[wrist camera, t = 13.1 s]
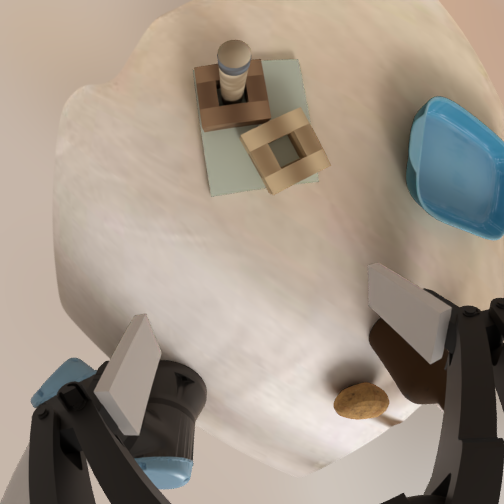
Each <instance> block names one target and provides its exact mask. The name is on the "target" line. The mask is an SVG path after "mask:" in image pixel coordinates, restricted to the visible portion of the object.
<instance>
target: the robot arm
mask: <svg viewBox="0 0 504 504" xmlns="http://www.w3.org/2000/svg"><path fill="white" fill-rule="evenodd" d="M368 296H369V307H370V308H372V309H373V310H374V311H375V312H376V313H377V314H378V315H379V316H380V317H381V318H382V319H383V320H384V321H386V322H387V323H388V324H389V325H390V326H391V327H392V328H393V329H394V330H395V331H396V332H397V333H398V334H399V335H400V336H401V337H403V338H404V339H405V340H406V341H407V342H408V343H409V344H410V345H411V346H412V347H413V348H414V349H415V350H416V351H417V352H418V353H419V354H420V355H421V356H422V357H423V358H424V359H425V360H426V361H427V362H428V363H429V364H432V363H434V362H436V361H437V360H439V359H441V358H442V355H443V351H444V348H446V349H447V350H448V351H449V354H448V358H447V361H446V365H445V369H444V370H446V369H447V383H446V397H445V407H444V415H443V423H442V429H441V436H440V441H439V447H438V452H437V456H436V461H435V465H434V469H433V473H432V477H431V479H430V482H429V484H428V486H427V488H426V490H425V492H424V495H418V496H412V497H407V498H406V496H405V494H404V493H402V494H400V495H398V496H396V497H394V498H392V499H390V500H388V501H386V502H383V503H381V504H498V502H499V497H500V491H501V484H502V476H503V464H504V440H503V439H502V438H498V437H497V412H496V396H495V395H496V394H495V388H496V391H497V393H498V396H499V399H500V402H501V405H502V408H503V411H504V343H503V340H504V298H496V299H493V300H492V301H491V304H490V309H489V310H485V311H480V310H479V309H478V308H477V307H474V306H463V307H458V306H456V305H455V304H453V303H452V302H450V301H449V300H447V299H444V297H442V296H439V294H437V293H436V292H434V291H432V290H429V289H425V288H424V289H422V288H420V287H419V286H417V285H415V284H414V283H412V282H410V281H409V280H407V279H406V278H404V277H402V276H401V275H399V274H397V273H396V272H394V271H392V270H390V269H389V268H387V267H385V266H384V265H382V264H380V263H374V264H370V265H368ZM161 353H162V352H161V350H160V347H159V345H158V342H157V340H156V338H155V335H154V333H153V330H152V327H151V325H150V322H149V320H148V317H147V314H141V315H135V316H134V318H133V319H132V321H131V323H130V324H129V326H128V328H127V330H126V332H125V333H124V335H123V337H122V339H121V340H120V342H119V344H118V346H117V348H116V350H115V351H114V353H113V355H112V357H111V359H110V361H105V362H104V363H103V364H102V365H101V366H100V367H99V368H98V370H94V369H92V368H91V367H90V366H88V365H87V364H86V363H85V362H83V361H82V360H81V359H78V358H70V359H68V360H67V361H66V362H64V363H63V364H62V365H61V366H60V367H59V368H58V369H57V370H56V371H55V372H54V373H53V374H52V375H51V376H50V377H49V378H48V380H46V382H45V383H44V384H43V385H42V386H41V388H40V389H39V390H38V391H37V392H36V393H35V394H34V395H33V397H32V398H31V403H32V405H33V407H34V408H37V409H36V410H35V411H34V413H33V416H32V424H31V432H30V442H29V444H28V446H27V448H26V450H25V452H24V454H23V455H22V458H21V459H20V461H19V463H18V465H17V467H16V470H15V471H14V473H13V476H12V478H11V480H10V482H9V485H8V486H7V489H6V491H5V493H4V496H3V498H2V500H1V503H0V504H96V503H95V499H94V495H93V491H92V486H91V482H90V477H89V472H88V466H90V467H91V469H92V471H93V473H94V475H95V477H96V478H97V480H98V482H99V484H100V486H101V488H102V489H103V491H104V493H105V494H106V496H107V498H108V499H109V501H110V503H111V504H171V503H170V502H169V501H168V500H167V499H166V498H165V496H164V495H163V494H162V493H161V492H160V491H159V490H158V489H174V488H178V487H181V486H184V485H185V484H186V483H188V481H189V480H190V477H191V471H192V466H193V445H194V431H195V421H196V420H197V418H198V416H199V414H200V413H201V411H202V409H203V407H204V405H205V403H206V395H207V389H206V385H205V383H204V381H203V380H202V378H201V377H200V376H199V375H198V374H197V373H196V372H194V371H193V370H192V369H190V368H188V367H186V366H184V365H182V364H179V363H176V362H171V361H162V360H160V356H161ZM159 360H160V361H159Z"/></svg>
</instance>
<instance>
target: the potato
mask: <svg viewBox="0 0 504 504" xmlns="http://www.w3.org/2000/svg"><path fill="white" fill-rule="evenodd" d="M388 405H389V399H388V396H387V394H386V393H385V392H384V391H383V390H382V389H381V388H379V387H378V386H376V385H374V384H371V383H367V382H365V383H361V384H357V385H353V386H351V387H348V388H346V389H344V390H343V391H341V393H340V394H339V395H338V396H337V397H336V399H335V401H334V409H335V411H336V412H337V413H338V414H339V415H340V416H342V417H346V418H350V419H367V418H373V417H377V416H379V415H381V414H382V413H383V412H385V411H386V409H387V407H388Z"/></svg>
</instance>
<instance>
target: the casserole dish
mask: <svg viewBox="0 0 504 504" xmlns="http://www.w3.org/2000/svg"><path fill="white" fill-rule="evenodd" d="M406 182H407V187H408V190H409V192H410V194H411V196H412V197H413V199H414V200H415V201H416V202H417V203H418V204H419V205H420V206H421V207H422V208H423V209H424V210H425V211H426V212H427V213H428V214H430V215H431V216H432V217H434V218H435V219H437V220H439V221H441V222H443V223H446V224H448V225H451V226H453V227H456V228H459V229H461V230H464V231H467V232H469V233H472V234H474V235H477V236H480V237H482V238H485V239H489V240H498V239H500V238H501V237H502V236H503V235H504V142H503V141H502V139H500V138H499V137H498V136H497V135H496V134H495V133H494V132H493V131H492V130H490V129H489V128H488V127H487V126H486V125H485V124H483V123H482V122H481V121H480V120H478V119H477V118H476V117H475V116H473V115H472V114H471V113H469V112H468V111H467V110H465V109H464V108H463V107H461V106H460V105H458V104H457V103H455V102H453V101H452V100H450V99H447V98H445V97H441V96H437V97H433V98H431V99H430V100H429V101H428V102H427V103H426V104H425V105H424V106H423V107H422V108H421V109H420V110H419V111H418V113H417V114H416V116H415V118H414V121H413V125H412V128H411V133H410V139H409V149H408V162H407V170H406Z"/></svg>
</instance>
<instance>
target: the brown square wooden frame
mask: <svg viewBox="0 0 504 504" xmlns="http://www.w3.org/2000/svg"><path fill="white" fill-rule="evenodd" d="M194 71H195V79H196V87H197V95H198V102H199V110H200V117H201V124H202V128H203V130H204V132H210V131H216V130H222V129H228V128H235V127H242V126H250V125H258V124H264V123H266V122H268V121H269V120H270V119H271V113H270V107H269V101H268V95H267V89H266V84H265V78H264V73H263V67H262V62H261V59H256V60H251V61H250V66H249V68H248V73H247V78H246V83H245V88H244V94H245V100H246V103H239V104H232V105H225V106H219V102H218V96H217V89H221V87H220V75H219V66H218V64H214V65H207V66H201V67H196V68H194Z"/></svg>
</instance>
